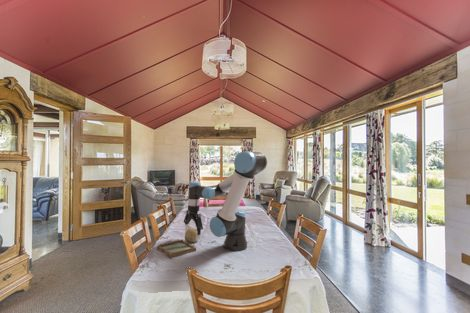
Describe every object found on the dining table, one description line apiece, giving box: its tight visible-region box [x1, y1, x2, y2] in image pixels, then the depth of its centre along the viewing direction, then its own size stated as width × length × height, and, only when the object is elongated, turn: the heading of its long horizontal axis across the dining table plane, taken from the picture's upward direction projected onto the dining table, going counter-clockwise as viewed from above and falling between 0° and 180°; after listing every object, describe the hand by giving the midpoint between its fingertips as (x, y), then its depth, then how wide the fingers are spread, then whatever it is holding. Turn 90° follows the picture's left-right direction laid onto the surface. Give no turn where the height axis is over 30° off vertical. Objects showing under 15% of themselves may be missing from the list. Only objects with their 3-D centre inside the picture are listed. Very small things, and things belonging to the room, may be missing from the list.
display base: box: [156, 239, 197, 259], centre depth 145 cm, size 17×17×2 cm
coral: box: [184, 226, 199, 244], centre depth 160 cm, size 10×10×10 cm
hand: (192, 236), depth 159 cm, fingers open, 13 cm apart
